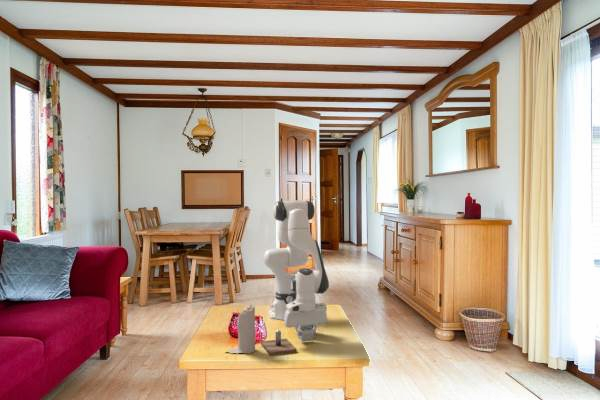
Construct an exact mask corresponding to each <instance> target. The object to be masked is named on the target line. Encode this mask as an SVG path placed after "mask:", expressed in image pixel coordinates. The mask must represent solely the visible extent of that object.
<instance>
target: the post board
mask: <svg viewBox="0 0 600 400" xmlns="http://www.w3.org/2000/svg"><path fill="white" fill-rule="evenodd" d="M260 345H261V347H262V348H263V350H265V352H266V353H267V354H268V355H269V357H272V356H279V355H287V354H294V353H297V351H298V350H297V348H296V347H295V346H294V345H293V344H292V342H291V341H289V340H288V338H281V346H276V339H270V340H262V341H260Z"/></svg>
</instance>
